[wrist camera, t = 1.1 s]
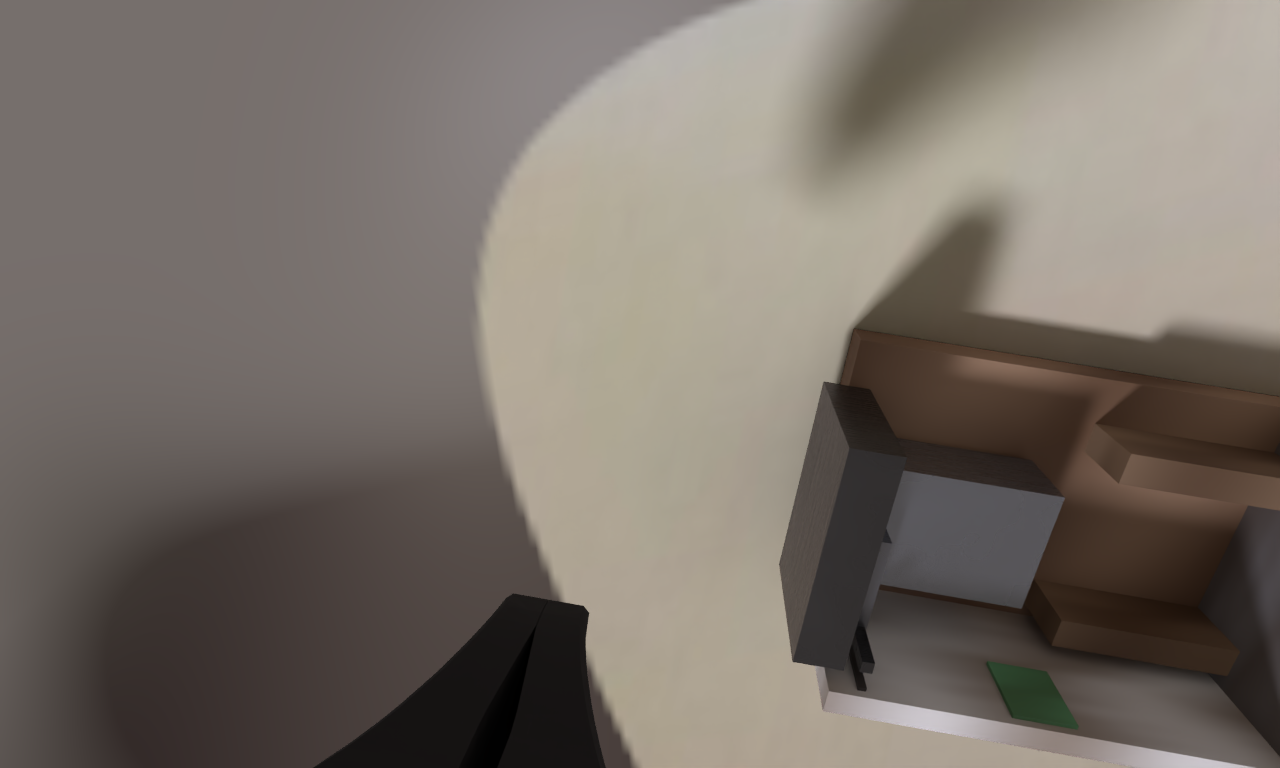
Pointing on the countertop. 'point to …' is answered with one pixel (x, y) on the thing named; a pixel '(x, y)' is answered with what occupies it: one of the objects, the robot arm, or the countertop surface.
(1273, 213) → the countertop surface
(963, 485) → the dark grey angled block
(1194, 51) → the countertop surface
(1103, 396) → the miniature room diorama
